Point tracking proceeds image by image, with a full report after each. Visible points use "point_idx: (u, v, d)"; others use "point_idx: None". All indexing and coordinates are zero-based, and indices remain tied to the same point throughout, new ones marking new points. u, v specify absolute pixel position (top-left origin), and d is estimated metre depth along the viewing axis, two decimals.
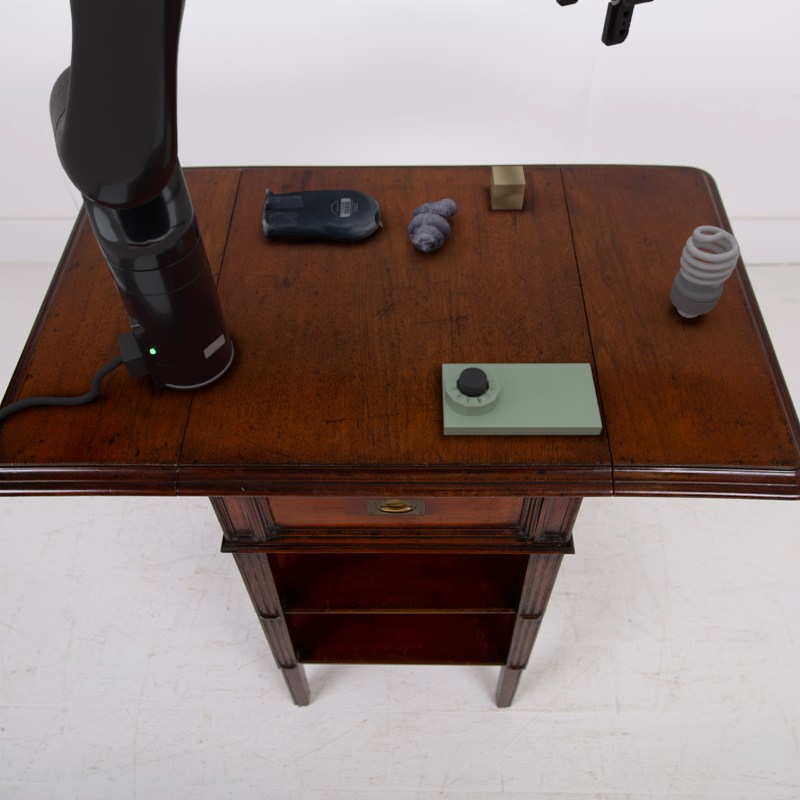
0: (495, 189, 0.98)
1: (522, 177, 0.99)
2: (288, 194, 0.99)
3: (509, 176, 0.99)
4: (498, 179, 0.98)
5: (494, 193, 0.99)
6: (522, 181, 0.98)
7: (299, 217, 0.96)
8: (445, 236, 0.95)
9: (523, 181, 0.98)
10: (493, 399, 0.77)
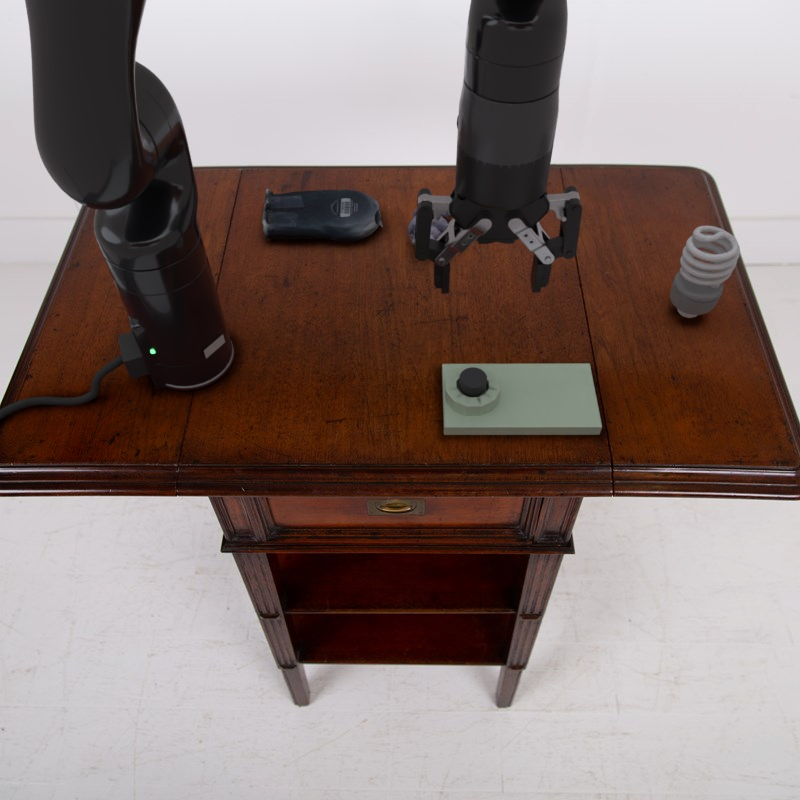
0: None
1: None
2: (288, 194, 0.99)
3: None
4: None
5: None
6: None
7: (299, 217, 0.96)
8: None
9: None
10: (493, 399, 0.77)
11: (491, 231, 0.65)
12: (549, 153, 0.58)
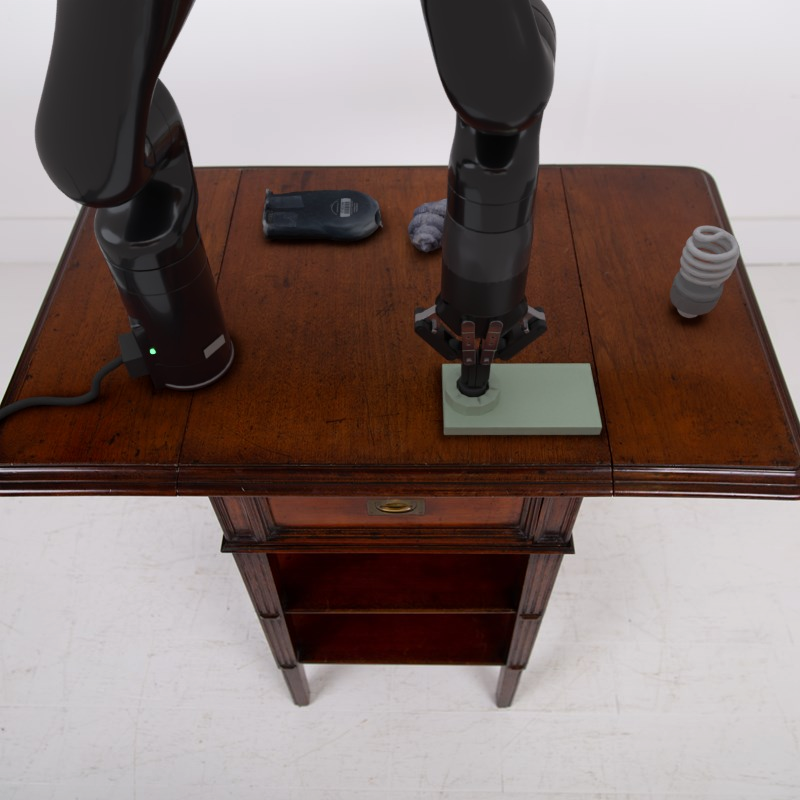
0: None
1: None
2: (288, 194, 0.99)
3: None
4: None
5: None
6: None
7: (299, 217, 0.96)
8: None
9: None
10: (493, 399, 0.77)
11: (474, 329, 0.70)
12: (525, 269, 0.63)
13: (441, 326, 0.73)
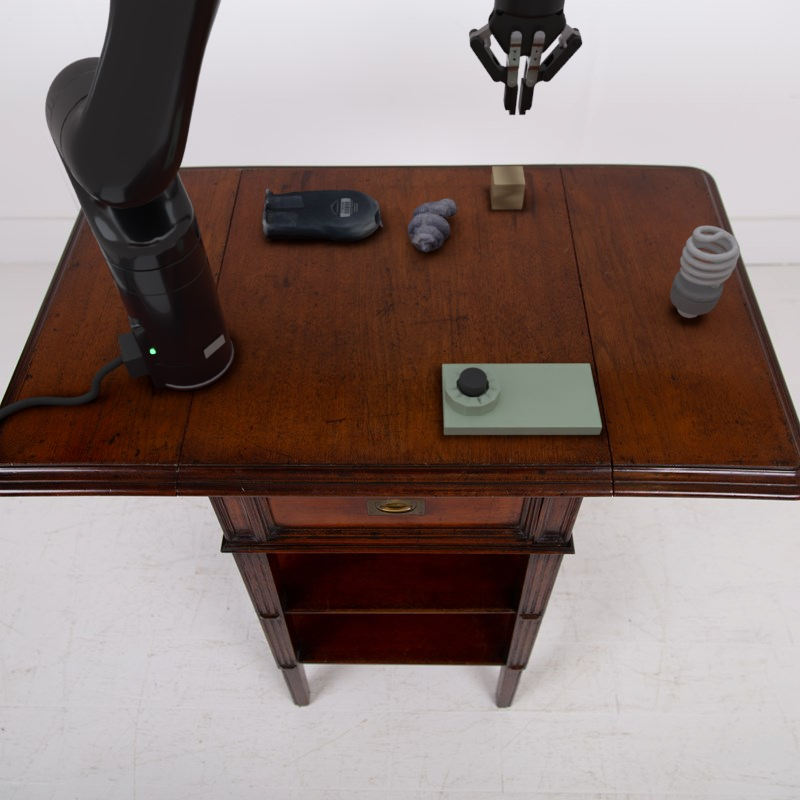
0: (495, 189, 0.98)
1: (522, 177, 0.99)
2: (288, 194, 0.99)
3: (509, 176, 0.99)
4: (498, 179, 0.98)
5: (494, 193, 0.99)
6: (522, 181, 0.98)
7: (299, 217, 0.96)
8: (445, 236, 0.95)
9: (523, 181, 0.98)
10: (493, 399, 0.77)
11: (520, 45, 0.84)
12: None
13: (490, 50, 0.87)
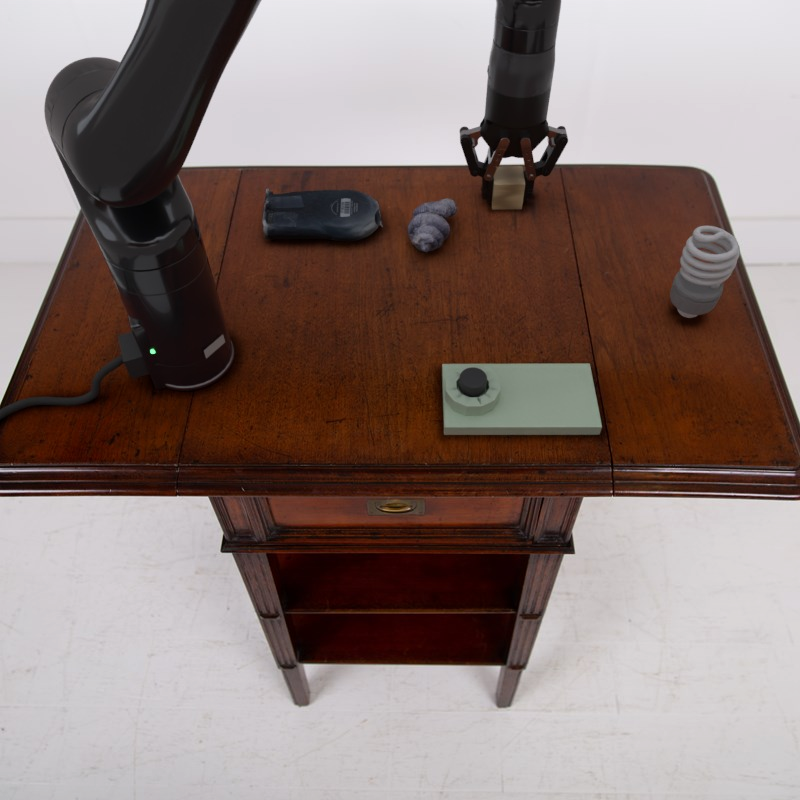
0: (495, 189, 0.98)
1: (522, 177, 0.99)
2: (288, 194, 0.99)
3: (509, 176, 0.99)
4: (498, 179, 0.98)
5: (494, 193, 0.99)
6: (522, 181, 0.98)
7: (299, 217, 0.96)
8: (445, 236, 0.95)
9: (523, 181, 0.98)
10: (493, 399, 0.77)
11: (508, 148, 0.95)
12: (548, 90, 0.88)
13: (474, 147, 0.97)
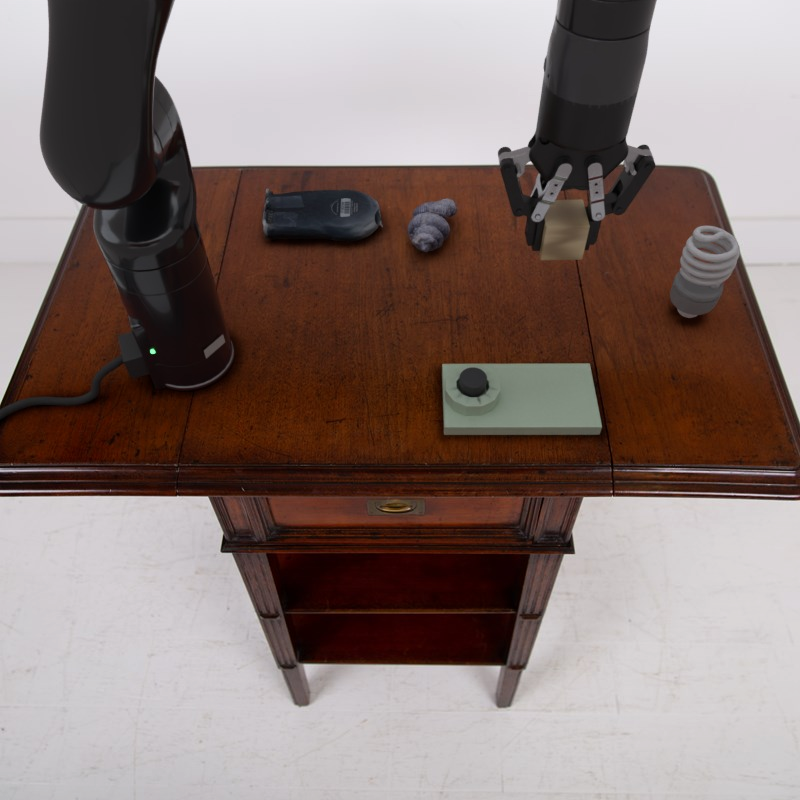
0: (546, 234, 0.70)
1: (584, 216, 0.70)
2: (288, 194, 0.99)
3: (565, 215, 0.70)
4: (551, 220, 0.70)
5: (545, 239, 0.70)
6: (585, 222, 0.69)
7: (299, 217, 0.96)
8: (445, 236, 0.95)
9: (586, 222, 0.69)
10: (493, 399, 0.77)
11: (569, 177, 0.66)
12: (635, 94, 0.59)
13: None
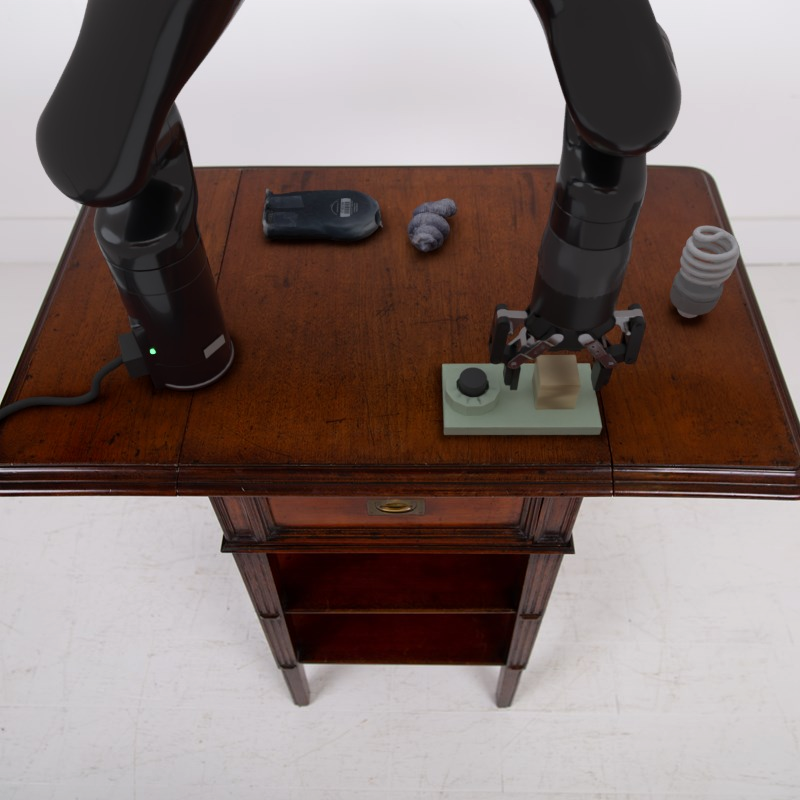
0: (540, 390, 0.76)
1: (576, 373, 0.76)
2: (288, 194, 0.99)
3: (559, 372, 0.76)
4: (545, 377, 0.76)
5: (539, 393, 0.76)
6: (576, 380, 0.75)
7: (299, 217, 0.96)
8: (444, 236, 0.95)
9: (578, 380, 0.75)
10: (493, 399, 0.77)
11: (561, 342, 0.72)
12: (621, 284, 0.65)
13: None
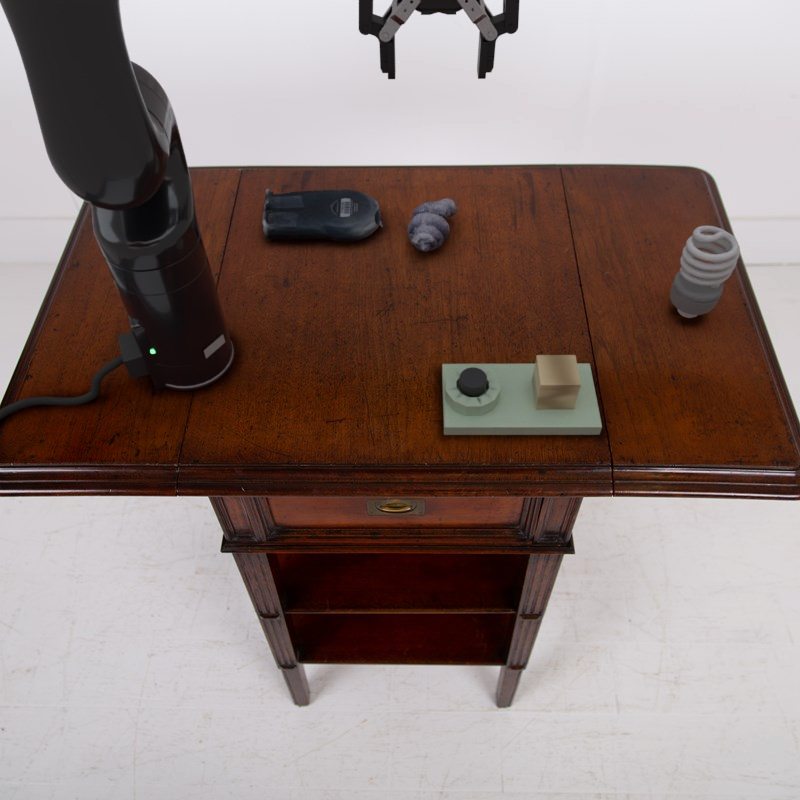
0: (540, 390, 0.76)
1: (576, 373, 0.76)
2: (288, 194, 0.99)
3: (559, 372, 0.76)
4: (545, 377, 0.76)
5: (539, 393, 0.76)
6: (576, 380, 0.75)
7: (299, 217, 0.96)
8: (444, 236, 0.95)
9: (578, 380, 0.75)
10: (493, 399, 0.77)
11: None
12: None
13: None
